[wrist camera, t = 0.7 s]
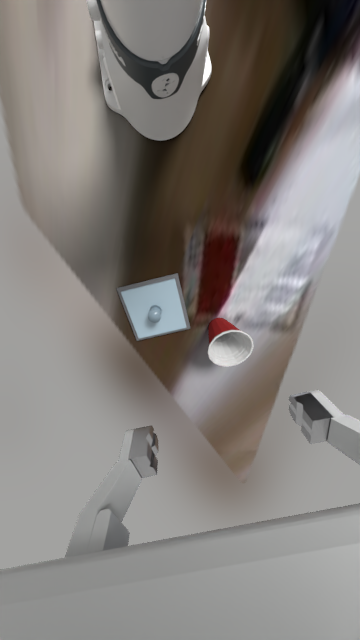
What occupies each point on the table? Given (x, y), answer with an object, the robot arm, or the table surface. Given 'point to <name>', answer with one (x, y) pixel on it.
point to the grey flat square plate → (149, 284)
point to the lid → (155, 308)
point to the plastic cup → (228, 343)
